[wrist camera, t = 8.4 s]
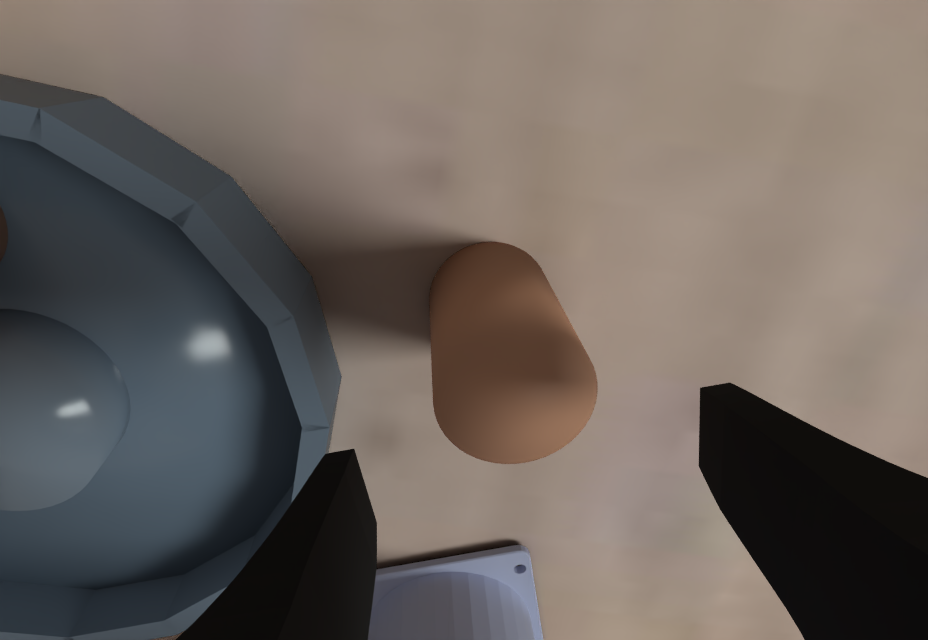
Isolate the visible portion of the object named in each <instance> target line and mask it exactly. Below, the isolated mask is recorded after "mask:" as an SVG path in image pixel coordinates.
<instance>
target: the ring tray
mask: <svg viewBox="0 0 928 640" xmlns="http://www.w3.org/2000/svg"><path fill="white" fill-rule="evenodd" d="M0 206H1V208H2V210H3V212H4V216H5V219H6V223H7V229H8V242H7V248H6V251H5V254H4V256H3V258H2V260H1V262H0V640H150V639H156V638H161V637H167V636H173V635H177V634H179V633H181V632H183V631H185V630H186V629H188V628H189V627H190V626H191V625H192V624H193V623H194V622H195V621H196V620H197V619H198V618H199V617H200V616H201V615H202V614H203V613H204V611H205V610H206V609H207V608H208V607H209V606H210V605H211V604H212V603H213V602H214V601H215V600H216V598H217V597H218V596H219V595H220V594H221V593H222V592H223V591H224V590H225V589H226V588H227V586H228V585H229V584H230V583H231V582H232V581H233V580H234V578H235V577H236V576H237V575H238V574H239V572H240V571H241V570H242V569H243V567H244V566H245V565H246V564H247V562H248V561H249V560H250V559H251V557H252V556H253V555H254V553H255V552H256V551H257V550H258V548H259V547H260V546H261V545H262V543H263V542H264V541H265V539H266V538H267V537H268V535H269V534H270V533H271V531H272V530H273V529H274V527H275V526H276V524H277V523H278V522H279V520H280V519H281V517H282V516H283V514H284V513H285V512H286V510H287V509H288V507H289V506H290V505H291V503H292V502H293V500H294V499H295V497H296V496H297V494H298V493H299V491H300V490H301V488H302V487H303V485H304V484H305V482H306V481H307V479H308V478H309V476H310V475H311V473H312V472H313V470H314V469H315V467H316V466H317V465H318V463H319V462H320V460H321V459H322V457H323V456H324V455H325V454H328V453H329V447H330V441H331V435H332V429H333V423H334V417H335V411H336V405H337V400H338V394H339V388H340V382H341V377H342V376H341V373H340V370H339V366H338V363H337V360H336V356H335V353H334V350H333V346H332V343H331V340H330V336H329V333H328V329H327V326H326V323H325V319H324V316H323V313H322V309H321V306H320V303H319V299H318V296H317V293H316V289H315V286H314V282H313V279H312V276H311V275H310V274H309V273H308V271H307V270H306V269H305V268H304V266H303V265H302V264H301V263H300V261H299V260H298V259H297V258H296V257H295V255H294V254H293V253H292V252H291V250H290V249H289V248H288V247H287V245H286V244H285V243H284V242H283V240H282V239H281V238H280V237H279V235H278V234H277V233H276V232H275V230H274V229H273V228H272V227H271V225H270V224H269V223H268V222H267V220H266V219H265V218H264V217H263V216H262V214H261V213H260V212H259V211H258V209H257V208H256V207H255V206H254V204H253V203H252V202H251V201H250V199H249V198H248V197H247V196H246V194H245V193H244V192H243V191H242V189H241V188H240V187H239V186H238V184H237V183H236V182H235V181H234V179H233V178H232V177H231V176H230V175H228V174H226V173H225V172H223V171H222V170H220V169H218V168H217V167H215V166H213V165H212V164H210V163H209V162H207V161H205V160H204V159H202V158H201V157H199V156H197V155H196V154H194V153H193V152H191V151H189V150H188V149H186V148H184V147H183V146H181V145H180V144H178V143H176V142H175V141H173V140H172V139H170V138H168V137H167V136H165V135H164V134H162V133H160V132H159V131H157V130H155V129H154V128H152V127H151V126H149V125H147V124H146V123H144V122H143V121H141V120H139V119H138V118H136V117H135V116H133V115H131V114H130V113H128V112H126V111H125V110H123V109H122V108H120V107H118V106H117V105H115V104H114V103H112V102H110V101H109V100H107V99H106V98H104V97H100V96H96V95H91V94H87V93H82V92H78V91H74V90H69V89H65V88H60V87H56V86H51V85H47V84H42V83H38V82H33V81H29V80H24V79H20V78H15V77H11V76H6V75H2V74H0Z"/></svg>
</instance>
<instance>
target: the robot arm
mask: <svg viewBox="0 0 928 640" xmlns="http://www.w3.org/2000/svg"><path fill="white" fill-rule="evenodd" d="M699 467H700V469H701V472H702V474H703V476H704V478H705V480H706V482H707V484H708V486H709V488H710V490H711V492H712V494H713V496H714V498H715V500H716V502H717V504H718V506H719V508H720V510H721V511H722V513H723V514H724V516H725V518H726V519H727V521H728V522H729V524H730V525H731V527H732V528H733V530H734V531H735V533H736V534H737V536H738V537H739V539H740V540H741V542H742V543H743V545H744V546H745V548H746V549H747V551H748V552H749V554H750V555H751V557H752V558H753V560H754V561H755V563H756V564H757V566H758V567H759V569H760V570H761V572H762V573H763V575H764V576H765V577H766V579H767V580H768V582H769V583H770V585H771V586H772V588H773V589H774V591H775V592H776V594H777V595H778V597H779V598H780V600H781V601H782V603H783V604H784V606H785V607H786V609H787V611H788V612H789V614H790V615H791V617H792V619H793V620H794V622H795V623H796V625H797V627H798V628H799V630H800V632H801V634H802V635H803V637H804V639H805V640H928V478H926V477H924V476H921V475H919V474H916V473H913V472H911V471H908V470H906V469H904V468H901V467H899V466H896V465H894V464H892V463H889V462H887V461H885V460H883V459H880V458H878V457H876V456H874V455H872V454H869V453H867V452H865V451H863V450H861V449H859V448H856V447H854V446H852V445H850V444H848V443H846V442H844V441H842V440H840V439H838V438H835V437H833V436H831V435H829V434H827V433H825V432H823V431H821V430H819V429H818V428H816V427H814V426H812V425H810V424H808V423H806V422H804V421H802V420H800V419H798V418H796V417H795V416H793V415H791V414H789V413H787V412H785V411H783V410H781V409H780V408H778V407H776V406H774V405H772V404H770V403H768V402H767V401H765V400H763V399H761V398H759V397H757V396H755V395H754V394H752V393H750V392H748V391H746V390H744V389H742V388H740V387H738V386H736V385H734V384H732V383H725V384H719V385H714V386H708V387H702V388H700V431H699ZM517 565H520V566H517ZM376 568H377V522H376V519H375V515H374V512H373V509H372V506H371V502H370V499H369V496H368V493H367V489H366V486H365V483H364V480H363V476H362V473H361V470H360V467H359V463H358V460H357V457H356V454H355V450H354V449H350V450H345V451H339V452H333V453H328V454H325V455H324V456H323V457H322V459H321V460H320V462H319V463H318V465H317V466H316V467H315V469H314V470H313V472H312V473H311V475H310V476H309V478H308V479H307V481H306V482H305V484H304V485H303V487H302V488H301V490H300V491H299V493H298V494H297V496H296V497H295V499H294V500H293V502H292V503H291V505H290V506H289V507H288V509H287V510H286V512H285V513H284V514H283V516H282V517H281V519H280V520H279V522H278V523H277V524H276V526H275V527H274V529H273V530H272V531H271V533H270V534H269V535H268V537H267V538H266V539H265V541H264V542H263V543H262V545H261V546H260V547H259V548H258V550H257V551H256V552H255V553H254V555H253V556H252V557H251V559H250V560H249V561H248V562H247V564H246V565H245V566H244V567H243V569H242V570H241V571H240V572H239V574H238V575H237V576H236V577H235V578H234V580H233V581H232V582H231V583H230V584H229V585H228V586H227V588H226V589H225V590H224V591H223V592H222V593H221V594H220V595H219V596H218V597H217V598H216V600H215V601H214V602H213V603H212V604H211V605H210V606H209V607H208V608H207V609H206V610H205V611H204V613H203V614H202V615H201V616H200V617H199V618H198V619H197V620H196V621H195V622H194V623H193V624H192V625H191V626H190V627H189V628H188V629H186V630H185V631H184V632H183V633H182V634H181V635H180V636H179V637H178V638H177V639H176V640H543V635H542V629H541V622H540V616H539V610H538V603H537V597H536V590H535V584H534V578H533V571H532V565H531V559H530V554H529V550H528V549H527V548H526V547H525V546H522V545H514V546H508V547H502V548H496V549H491V550H485V551H479V552H474V553H468V554H462V555H456V556H451V557H445V558H439V559H433V560H428V561H422V562H416V563H410V564H405V565H399V566H393V567H388V568H382V569H376Z"/></svg>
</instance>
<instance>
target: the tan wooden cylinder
mask: <svg viewBox="0 0 928 640" xmlns="http://www.w3.org/2000/svg"><path fill="white" fill-rule="evenodd" d="M7 242H8V229H7V223H6V219H5V216H4V212H3V210H2V208H1V206H0V262H1V260H2V258H3V256H4V254H5V251H6V248H7Z"/></svg>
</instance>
